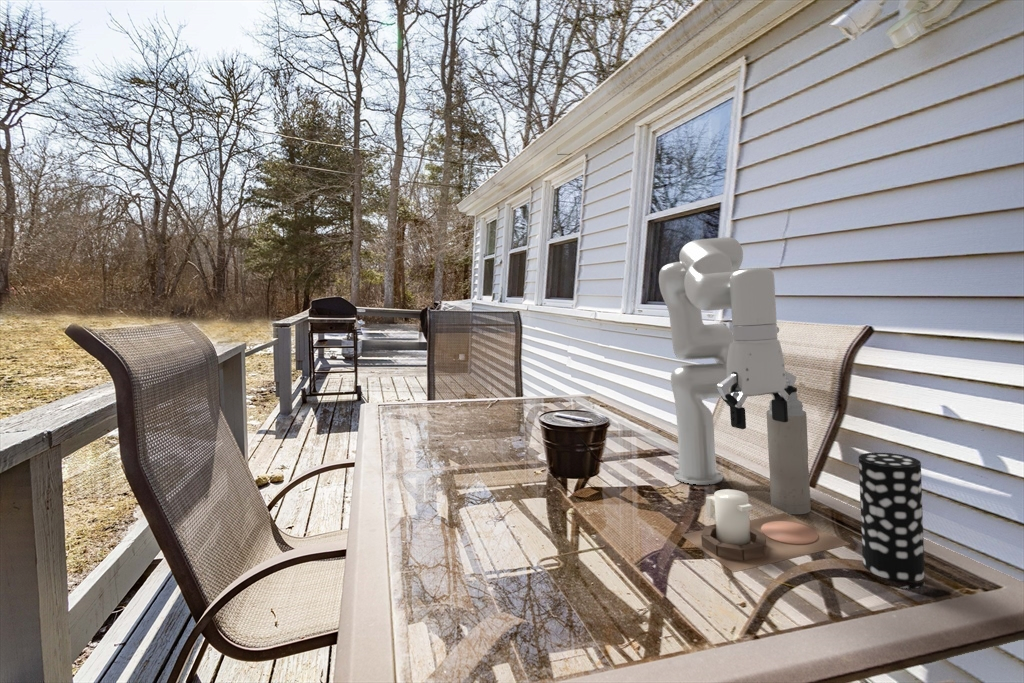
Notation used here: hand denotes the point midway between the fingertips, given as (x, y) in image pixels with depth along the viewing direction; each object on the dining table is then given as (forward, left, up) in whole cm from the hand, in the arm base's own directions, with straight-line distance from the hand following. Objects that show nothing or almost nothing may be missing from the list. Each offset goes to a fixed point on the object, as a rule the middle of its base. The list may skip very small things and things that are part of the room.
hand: (759, 424), depth 94 cm
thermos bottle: (-14, +20, -25) cm, 35 cm away
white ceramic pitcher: (-3, -5, -24) cm, 24 cm away
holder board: (-2, +1, -25) cm, 25 cm away
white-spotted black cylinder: (+15, +13, -25) cm, 32 cm away
